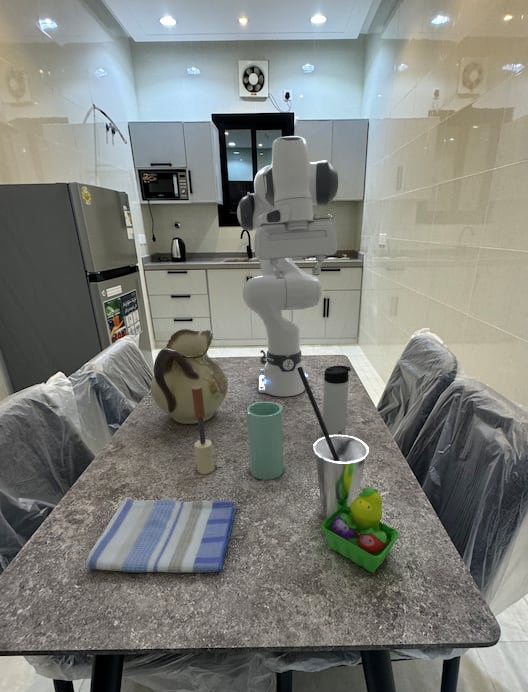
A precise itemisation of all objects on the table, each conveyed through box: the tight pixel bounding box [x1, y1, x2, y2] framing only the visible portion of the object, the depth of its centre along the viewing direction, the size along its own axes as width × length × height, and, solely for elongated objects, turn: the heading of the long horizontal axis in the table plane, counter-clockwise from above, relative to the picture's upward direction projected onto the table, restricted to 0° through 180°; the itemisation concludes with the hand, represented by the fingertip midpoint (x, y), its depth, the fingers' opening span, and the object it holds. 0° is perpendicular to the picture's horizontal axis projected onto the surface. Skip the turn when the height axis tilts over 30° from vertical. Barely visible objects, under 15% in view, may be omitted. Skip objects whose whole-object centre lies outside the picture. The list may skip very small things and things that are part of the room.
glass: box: [297, 367, 370, 521], centre depth 70 cm, size 11×11×30 cm
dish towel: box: [85, 498, 238, 574], centre depth 70 cm, size 17×24×3 cm
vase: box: [246, 401, 284, 481], centre depth 87 cm, size 8×8×16 cm
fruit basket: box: [320, 486, 400, 574], centre depth 65 cm, size 11×9×11 cm
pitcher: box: [150, 328, 229, 425], centre depth 113 cm, size 22×24×25 cm
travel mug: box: [321, 365, 352, 438], centre depth 101 cm, size 6×7×20 cm
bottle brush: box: [192, 386, 215, 475], centre depth 87 cm, size 4×4×21 cm
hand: (298, 277), depth 94 cm, fingers open, 8 cm apart
